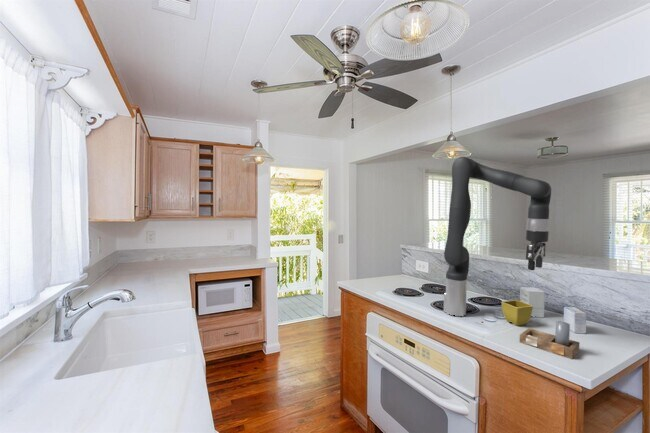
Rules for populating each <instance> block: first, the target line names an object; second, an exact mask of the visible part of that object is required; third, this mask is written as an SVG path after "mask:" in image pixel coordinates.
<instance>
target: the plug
mask: <svg viewBox="0 0 650 433" xmlns="http://www.w3.org/2000/svg"><path fill="white" fill-rule="evenodd" d="M570 331H571V330H570V324H568V323H566V322H564V321H561V320H560V321H555V334H554V335H555V343H557V344H561V345H564V346H567V347H569V340H570V334H571V332H570Z"/></svg>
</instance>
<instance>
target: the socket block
mask: <svg viewBox="0 0 650 433" xmlns="http://www.w3.org/2000/svg"><path fill="white" fill-rule="evenodd" d="M519 343H520V344H524V345H527V346H530V347H533V348H537V349H539V350H542V351H546V352H548V353H551V352H552V354H554V355H555V354H556V355H558V356H562V357H565V358H567V359H570V360H572V359H573V358H575V356H576V355H577V354H578V352H580V342H579V341H575V340H572V339H569V347H567V346H564V345H561V344H557V343H555V334H551V333H548V332H544V331H541V330H538V329H534V328H530V327H528V328H527V329H526V330H524V331H523V332H521V333H520V334H519Z"/></svg>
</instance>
